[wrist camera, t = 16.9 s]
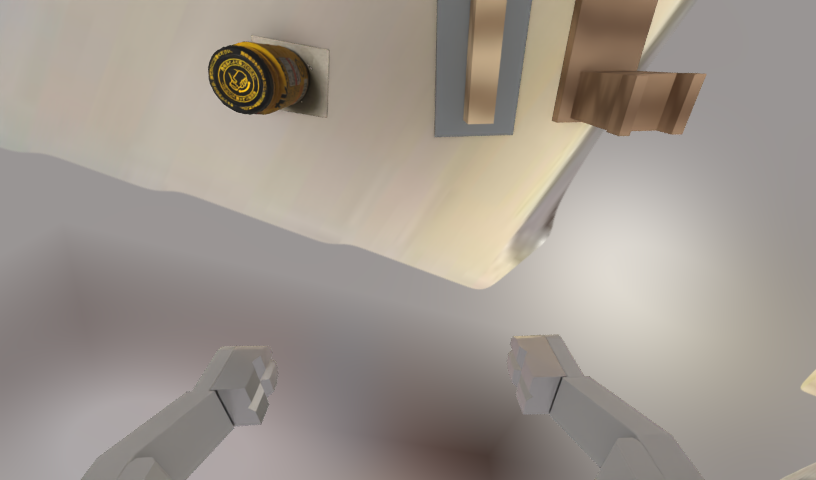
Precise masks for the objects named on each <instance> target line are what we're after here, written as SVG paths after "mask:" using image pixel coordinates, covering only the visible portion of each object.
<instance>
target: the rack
mask: <svg viewBox="0 0 816 480" xmlns="http://www.w3.org/2000/svg"><path fill="white" fill-rule="evenodd" d="M657 2H658V0H576V2H575V7H574V12H573V17H572V22H571V27H570V32H569V37H568V43H567V48H566V53H565V58H564V63H563V68H562V73H561V78H560V83H559V88H558V93H557V98H556V103H555V108H554V113H553V118H552V121H555V122H557V123H558V122H584V123H587V124H590V125H593V126H596V127H599V128H602V129H605V130H607V132H608V133H612V134H614V135H617V136H629V135H630V132H631V131H651V130H657V131H660V132H664V133H668V134H682V133H683V131H684V128H685V126H686V123H687V121H688V118H689V116H690V113H691V111H692V108H693V106H694V103H695V101H696V99H697V96H698V94H699V91H700V89H701V86H702V84H703V81H704V79H705V77H706V74H699V73H668V72H647V71H637V68H638V64H639V61H640V58H641V54H642V51H643V48H644V45H645V41H646V38H647V35H648V31H649V28H650V25H651V22H652V18H653V15H654V12H655V8H656V5H657Z"/></svg>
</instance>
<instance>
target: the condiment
mask: <svg viewBox="0 0 816 480" xmlns="http://www.w3.org/2000/svg"><path fill="white" fill-rule="evenodd" d="M251 39H252V42H241V43H237V44H234V45H229V46H227V47H223V48H221V49H220V50H217V51H216V52H215V53H214V54H213V56H212V57H211V60H210V62H209V66H208V73H209V81H210V85H211V87H212V89H213V91H214V93H215V94H216V96H217V97H218V98H219V99H220V100H221V101H222V103H223V104H224V105H226V106H227V107H229V108H230V109H232V110H234V111H236V112H238V113H243V114H249V115H251V114H262V115H264V114H270V113H272V112H275V111H277V110H284V111H290V112H295V113H301V114H307V115H313V116H318V117H325V118H327V97H328V68H329V50H326V49H321V48H316V47H310V46H305V45H300V44H295V43H289V42H284V41H279V40H273V39H268V38H263V37H258V36H252V35H251ZM307 64H308V65H309V67H308V66H307ZM310 67H311V68H312V70H311V69H310ZM301 101H302V102H301Z"/></svg>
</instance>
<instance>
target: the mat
mask: <svg viewBox="0 0 816 480" xmlns="http://www.w3.org/2000/svg"><path fill="white" fill-rule="evenodd" d="M470 2H471V0H437V41H436V93H435V137H455V136H489V135H513V130H514V123H515V116H516V109H517V102H518V95H519V88H520V81H521V74H522V67H523V60H524V53H525V46H526V39H527V32H528V25H529V18H530V10H531V3H532V0H507V4H506V13H505V22H504V31H503V41H502V50H501V59H500V68H499V78H498V87H497V96H496V105H495V114H494V124H467V123H466V122H465V121H464V120H463V115H464V99H465V83H466V66H467V50H468V34H469V18H470Z"/></svg>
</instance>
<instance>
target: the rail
mask: <svg viewBox="0 0 816 480" xmlns="http://www.w3.org/2000/svg"><path fill="white" fill-rule="evenodd" d="M506 4H507V0H471V2H470V18H469V34H468V50H467V66H466V83H465V99H464V115H463V120H464V121H465V122H466V123H467V124H494V114H495V105H496V96H497V87H498V78H499V68H500V59H501V50H502V41H503V31H504V22H505V13H506Z"/></svg>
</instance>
